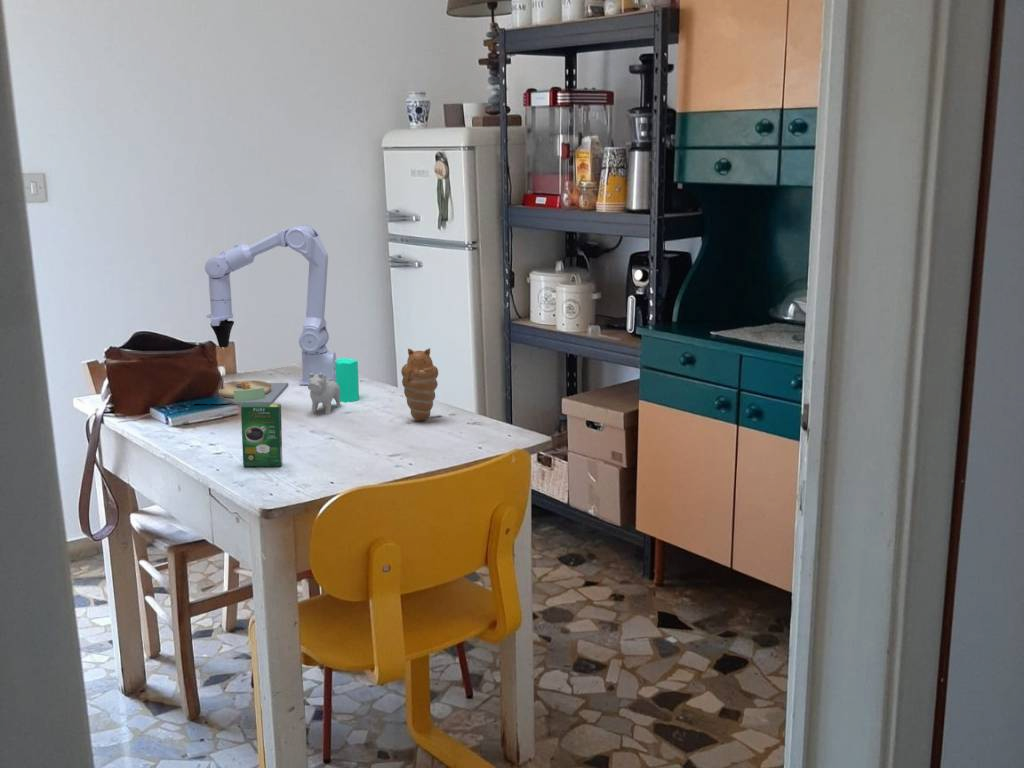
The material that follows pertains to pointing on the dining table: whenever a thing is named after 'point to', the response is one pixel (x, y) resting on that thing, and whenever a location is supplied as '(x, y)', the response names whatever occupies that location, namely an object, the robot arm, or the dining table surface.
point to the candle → (347, 379)
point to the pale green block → (249, 394)
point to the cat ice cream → (419, 383)
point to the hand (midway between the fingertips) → (223, 347)
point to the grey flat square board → (266, 395)
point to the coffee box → (261, 435)
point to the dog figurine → (323, 392)
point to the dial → (242, 387)
